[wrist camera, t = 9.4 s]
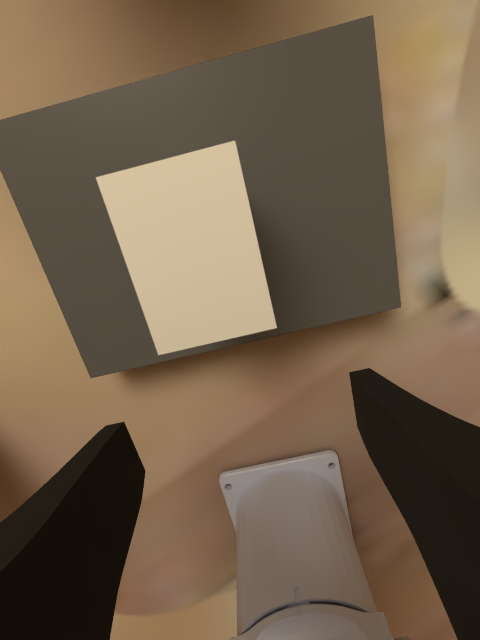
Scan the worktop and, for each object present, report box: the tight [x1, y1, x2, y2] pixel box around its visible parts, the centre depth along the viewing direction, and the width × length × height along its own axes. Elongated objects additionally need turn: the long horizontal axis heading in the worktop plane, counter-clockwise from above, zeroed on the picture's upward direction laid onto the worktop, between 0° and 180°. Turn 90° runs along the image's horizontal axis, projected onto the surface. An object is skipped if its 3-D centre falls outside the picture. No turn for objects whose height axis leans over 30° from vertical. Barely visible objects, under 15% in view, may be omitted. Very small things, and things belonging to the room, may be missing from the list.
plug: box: [96, 141, 277, 355], centre depth 13 cm, size 5×3×8 cm
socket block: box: [0, 15, 401, 378], centre depth 18 cm, size 12×16×3 cm
